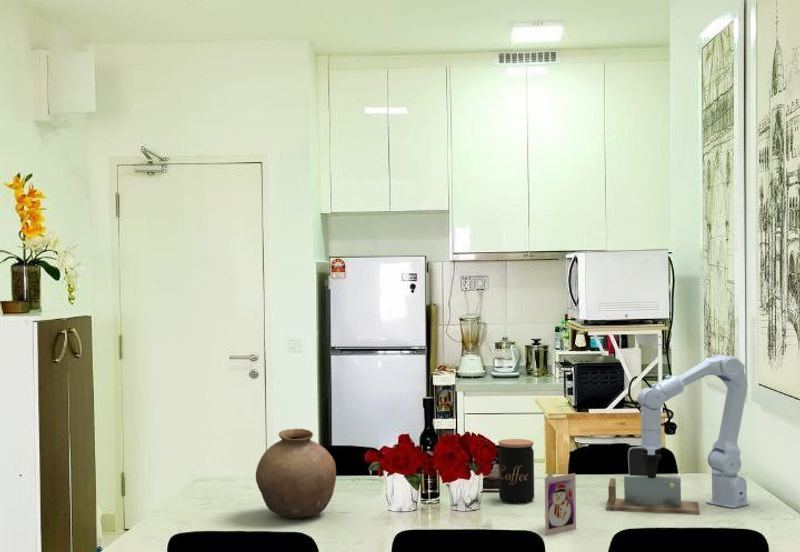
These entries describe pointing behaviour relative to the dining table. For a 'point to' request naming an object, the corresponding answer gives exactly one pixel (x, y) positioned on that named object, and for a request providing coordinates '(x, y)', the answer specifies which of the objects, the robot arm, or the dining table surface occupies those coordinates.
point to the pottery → (296, 475)
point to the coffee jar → (516, 471)
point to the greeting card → (560, 503)
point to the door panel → (652, 489)
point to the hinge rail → (634, 505)
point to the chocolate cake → (492, 481)
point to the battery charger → (636, 462)
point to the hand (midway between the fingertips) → (651, 475)
